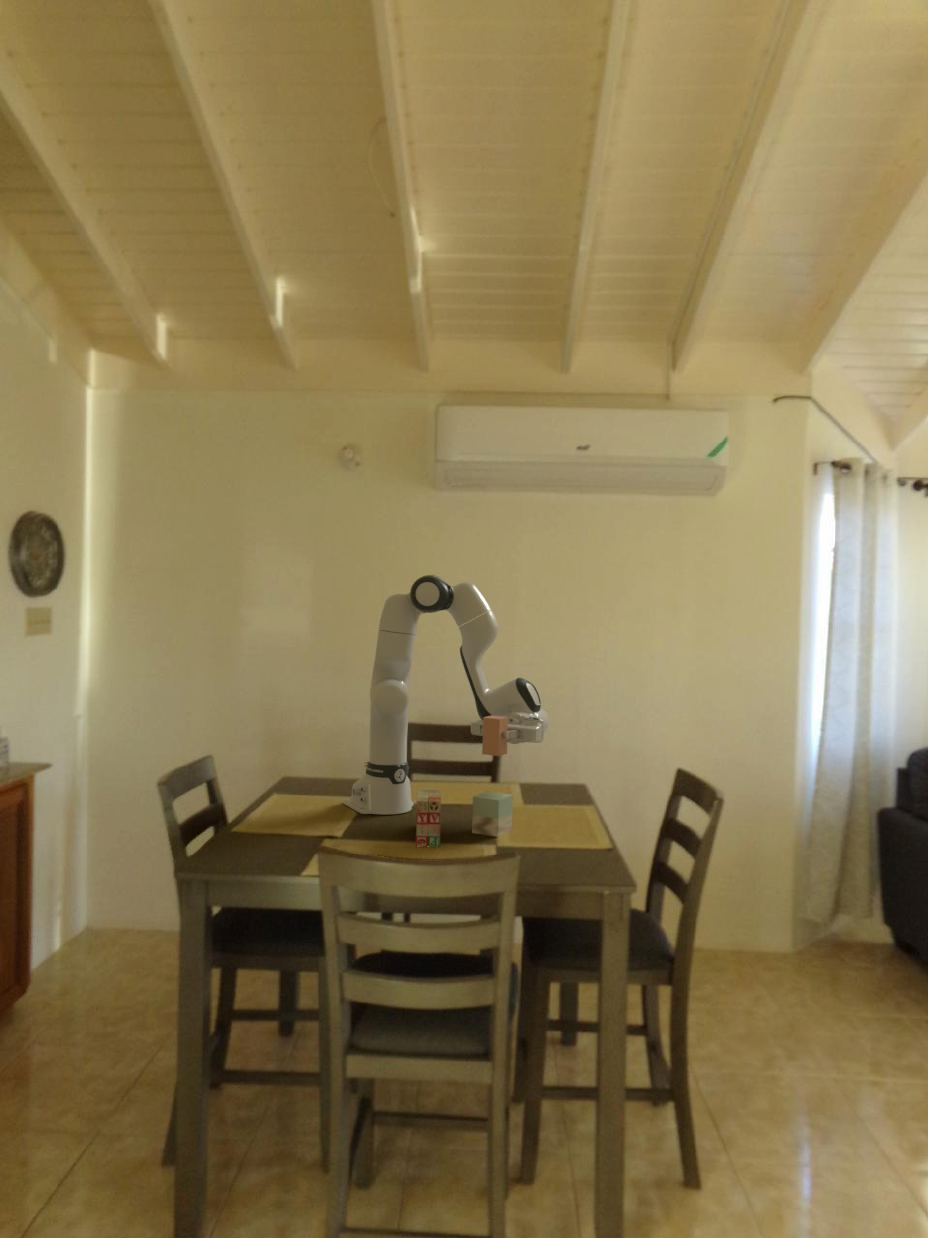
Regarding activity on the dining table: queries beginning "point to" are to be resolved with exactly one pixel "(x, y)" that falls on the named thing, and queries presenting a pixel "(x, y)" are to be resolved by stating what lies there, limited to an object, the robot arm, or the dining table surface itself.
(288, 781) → the dining table surface
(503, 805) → the tower top
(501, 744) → the tall block
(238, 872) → the dining table surface
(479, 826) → the tower bottom
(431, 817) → the stack of blocks
